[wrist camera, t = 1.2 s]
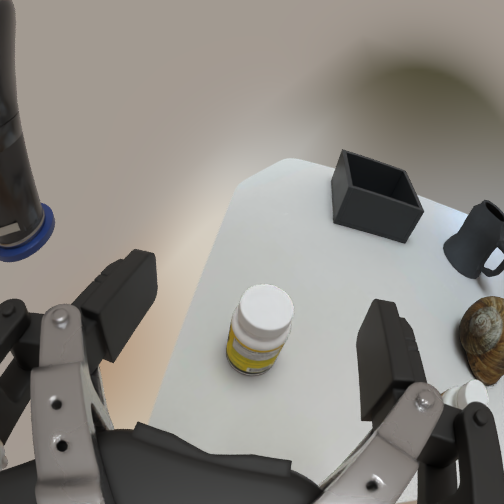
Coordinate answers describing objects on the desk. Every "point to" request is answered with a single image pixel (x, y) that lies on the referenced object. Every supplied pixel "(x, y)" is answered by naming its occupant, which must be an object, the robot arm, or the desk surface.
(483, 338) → the seashell
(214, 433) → the desk surface
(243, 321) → the supplement bottle
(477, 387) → the pill bottle
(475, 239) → the mug
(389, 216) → the bin
